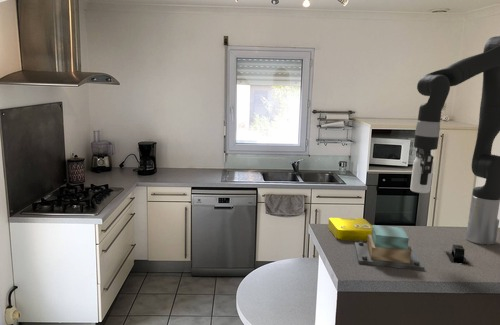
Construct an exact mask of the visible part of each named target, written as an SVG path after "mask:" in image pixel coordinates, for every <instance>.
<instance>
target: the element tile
mask: <svg viewBox="0 0 500 325" xmlns="http://www.w3.org/2000/svg"><path fill="white" fill-rule="evenodd" d="M327 223H328V224H327V225H328V227H327V229H328V230H329V231H330V232H331V233H333V234H334V235H333V234H332V235H333V236H334V237H336V238H338V239H337V240H339V239H341V240H340V241H360V242H364V241H365V242H366V241H367V239H368V235H371V234H372V225H373V224H372V223H370V222H369V221H367V220H366V219H365V218H362V217H329V218H328V222H327ZM336 238H335V239H336Z"/></svg>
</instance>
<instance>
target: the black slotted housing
mask: <svg viewBox="0 0 500 325" xmlns="http://www.w3.org/2000/svg"><path fill="white" fill-rule="evenodd" d="M465 250H466V249H465V247H464V246H463V245H462V244H461V245H460V244H459V245H458V244H452V247H451V252H450V251H449V252H448V251H445V254H446V256H447V257H448V259H449V261H450V263H454V264H459V263H462V264H461V265H467V264H468V265H469V266H470V263H469V261H468V260H467V259H466V257H465ZM466 260H467V261H466Z"/></svg>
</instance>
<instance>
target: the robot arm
mask: <svg viewBox="0 0 500 325" xmlns="http://www.w3.org/2000/svg"><path fill="white" fill-rule="evenodd" d="M481 73H482V88H481V99H480V103H479V104H480V106H479V113H478V114H479V116H478V117H479V118H478V128H477V135H476V141H475V146H474V149H473V150H474V151H473V154H472V159H471V171H472V173H473V175H474V176H475V177H479V178H481V179H485V183H484V185H482V186H475V187H474V188H473V189H472V194H471V202H470V208H469V215H468V221H467V229H466V235H465V239H466V240H467V241H469V242H471V243H475V244H478V243H479V245H483V244H487V245H486V246H491V245H496V243H497V237H498V231H499V224H500V219H499V218H498V217H499V211H500V155H497V154H492V151H493V150H492V149H493V144H494V141H495V138H496V137H497V136H498V134H500V35H498V36H497V35H496V36H492V37H489V39H488V40H486V42H485V44H484V47H483V51H482V52H481V53H479V54H475V55H472V56H468V57H466V58H465V57H464V58H462V59H459V60H458V61H455V62H454V63H452V64H450V65H449V66H447V67H444V68H442V69H438V70H435V71H432V72H430V73H429V72H428V73H427V74H425V75H423V76H422V77H421V78H420V79H419V80H418V82H417V86H416V89H417V92H418V93H419V94H420V95H422V96H425V97H428V100H427V102H425V103H422V104H420V106H419V109H418V114H417V115H418V116H417V123H416V126H415V132H414V140H413V147H414V148H415V149H419V150H415V152H416V153H415V157H416V156H417V158H420V167H421V177H420V184H421V185H427V180H428V174H429V173H431V169H432V163H434V156H433V155H432V152H431V151H434V150H435V151H436V150H437V149H438V145H439V139H440V131H441V118H442V111H443V108H444V105H445V103H446V102H447V98H448V96H449V94H450V90H451V87H455V86H459V85H460V84H462V83H464V82H466V81H468V80H470V79H472V78H474V77H476V76H478V75H480V74H481ZM421 158H422V159H421ZM422 160H423V161H424V164H422ZM425 167H427V168H428V169H427V170H426V169H425ZM490 244H491V245H490Z"/></svg>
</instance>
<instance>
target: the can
mask: <svg viewBox="0 0 500 325" xmlns="http://www.w3.org/2000/svg"><path fill="white" fill-rule="evenodd" d="M414 158H415V159H414V160H413V163H412V171H411V179H410V187H409V189H410V191H411V192H412V193H416V194H424V195H425V194H429V193H430V192H431V187H432V180H433V172H434V165H435V164H434V162H433V163H432V169H431V173H429V174H428V180H427V185H421V184H420V177H421V167H420V158H417V156H416V155H415V157H414ZM421 159H422V158H421ZM422 164H424V161H423V160H422ZM425 169H426V170H427V169H428V168H427V167H425Z"/></svg>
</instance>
